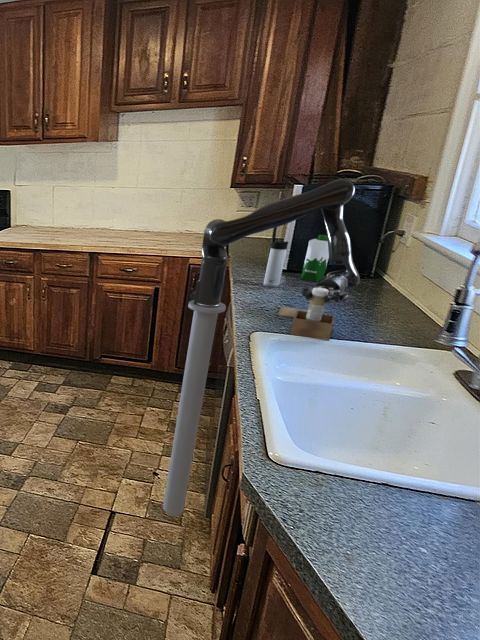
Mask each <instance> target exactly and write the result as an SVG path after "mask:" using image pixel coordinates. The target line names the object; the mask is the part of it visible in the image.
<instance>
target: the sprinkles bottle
mask: <svg viewBox="0 0 480 640" xmlns="http://www.w3.org/2000/svg"><path fill="white" fill-rule="evenodd" d="M328 292H329V290H327V289H324V288H313V290H312V297H311V298H310V301H309V304H308V308H307V310H308V312H307V315H306V320H309V321H316V322H320V320H321V317H322V314H324V309H325V306H326V303H324V300H325V297H326V295H328Z"/></svg>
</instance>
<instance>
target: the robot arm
mask: <svg viewBox="0 0 480 640" xmlns="http://www.w3.org/2000/svg"><path fill="white" fill-rule="evenodd" d="M355 191H356V187H355V185H354V183H353V182H352V181H351V180H348V179H343V178H340V179H339V178H338V179H335V180H333V181H330V182H328V183H326V184H324V185H321V186H319V187H317V188H314V189H312V190H310V191H306V192H303V193H302V192H301V193H298V194H295V195H291V196H288V197H285V198H282V199H278V200H276V201H272V202H269V203H267V204H265V205H262V206H261V207H258V208H257V209H256V210H254V211H253V212H251V213H249V214H248V215H244V216H242V217H239V218H236V219H231V220H224V219H221V218H217V219H216V218H215V219H212V220H211V221H209V222H208V223H207V225H206V226H205V228H204V233H203V236H202V244H201V264H200V269H199V277H198V280H197V281H196V285H195V290H194V291H193V292H192V293H191V294H190V295H189V299H190V301H193V300H194V304H195V305H198V306H202V307H208V308H215V307H219V306H220V303H221V299H222V298H221V297H222V296H223V288H224V282H225V276H226V275H225V274H226V271H227V264H228V258H229V257H228V253H227V246H228V245H230V244H232V243H235V242H237V241H239V240H242V239H243V238H246V237H248V236H252V235H255V234H259V233H262V232H266V231H269V230H272V229H276V228H278V227H282V226H285V225H287V224H290V223H292V222H294V221H297V220H299V219H301V218H303V217H304V216H306V215H309V214H311V213H312V212H314V211H315V212H316V211H317V210H321V213H322V217H323V221H324V225H325V232H326V235H327V239H328V252H329V259H328V262H329V264H330V265H334V266H344V267H345V269H340V270H334V271H331V272H328V273H327V274H326V275H325V278H323V279H322V280H320V281H318V282H317V283H316V285H314V286H311V287H310V286H309V285H307V284H303V286H302V290H301V296H302V297H304V298H305V299H306V300H307V301H308V300H311V297H312V290H313V288H324V289H327V290H329V292H328V295H326V297H325V300H324V303H325V304H328V303H330V302H333V301H334V302H335V303H340V302H345V301H347V300H348V297H349V294H350V293H349V292H348V291H346V290H348V289H355V288H356V287H358V286H359V284H360V282H361V277H360V274H359V271H358V270H357V268H356V266H355V265H356V264H355V263H354V260H353V253H352V243H351V237H350V234H349V232H348V230H347V227H346V225H345V222H344V205H346V204H347V203H348V202H349V201H350V200H351V199H352V198H353V196H354V194H355Z"/></svg>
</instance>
